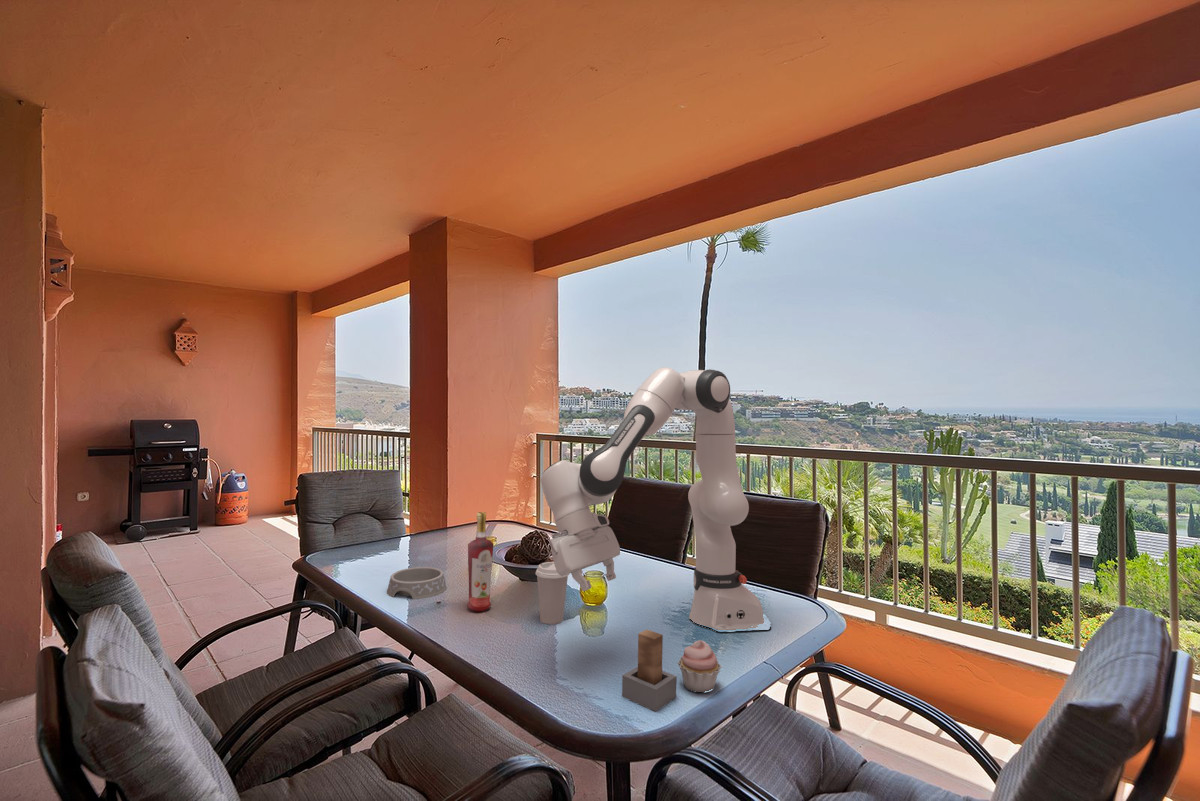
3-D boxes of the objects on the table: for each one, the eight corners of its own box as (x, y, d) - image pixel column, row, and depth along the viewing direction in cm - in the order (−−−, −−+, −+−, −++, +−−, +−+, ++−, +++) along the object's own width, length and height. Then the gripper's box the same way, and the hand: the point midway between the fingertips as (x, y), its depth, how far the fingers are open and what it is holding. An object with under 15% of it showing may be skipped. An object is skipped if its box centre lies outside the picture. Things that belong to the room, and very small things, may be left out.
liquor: (472, 615, 153) (474, 516, 153) (462, 607, 159) (464, 512, 159) (496, 610, 157) (498, 513, 158) (485, 603, 163) (487, 509, 164)
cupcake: (676, 695, 112) (677, 647, 112) (677, 674, 121) (678, 629, 122) (722, 700, 111) (723, 651, 111) (720, 678, 120) (720, 632, 120)
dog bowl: (430, 602, 164) (430, 584, 164) (375, 597, 167) (375, 579, 167) (455, 584, 181) (455, 568, 181) (404, 580, 184) (405, 564, 184)
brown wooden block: (637, 692, 112) (638, 633, 112) (645, 686, 114) (646, 629, 114) (653, 699, 109) (654, 639, 109) (661, 693, 111) (662, 634, 112)
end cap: (621, 696, 111) (622, 675, 111) (643, 683, 117) (643, 663, 117) (655, 711, 106) (656, 689, 106) (676, 697, 112) (676, 676, 112)
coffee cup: (551, 610, 158) (552, 559, 158) (575, 619, 152) (576, 565, 152) (527, 620, 151) (528, 565, 151) (551, 629, 145) (553, 573, 145)
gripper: (556, 529, 118) (580, 591, 113) (611, 516, 134) (634, 569, 129) (538, 540, 121) (560, 601, 116) (593, 526, 137) (615, 578, 133)
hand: (600, 584), depth 123 cm, fingers open, 8 cm apart
